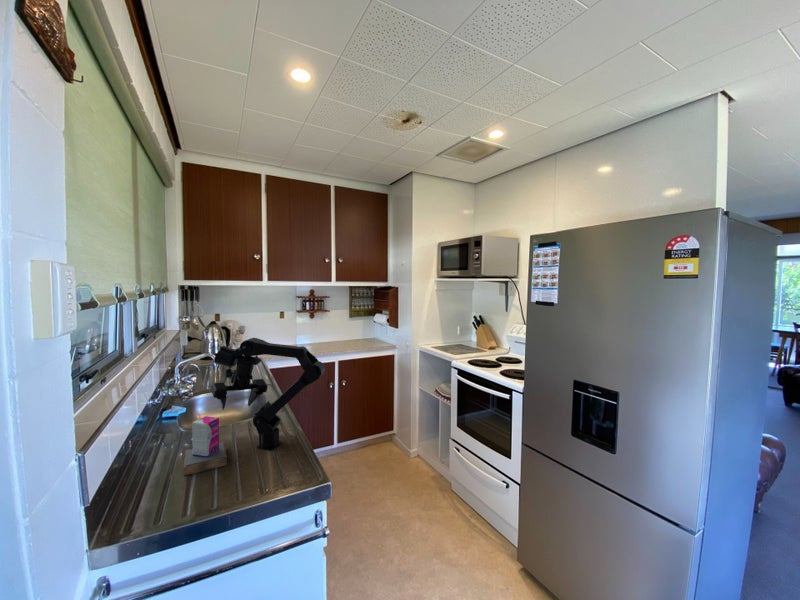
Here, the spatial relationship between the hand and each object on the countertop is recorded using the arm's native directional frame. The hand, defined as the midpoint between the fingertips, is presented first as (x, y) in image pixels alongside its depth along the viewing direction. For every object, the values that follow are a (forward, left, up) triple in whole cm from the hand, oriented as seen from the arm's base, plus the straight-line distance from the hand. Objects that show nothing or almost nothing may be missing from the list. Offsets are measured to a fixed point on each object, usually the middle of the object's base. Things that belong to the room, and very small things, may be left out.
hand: (235, 407), depth 126 cm
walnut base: (-1, +15, -13) cm, 20 cm away
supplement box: (-1, +14, -11) cm, 18 cm away
